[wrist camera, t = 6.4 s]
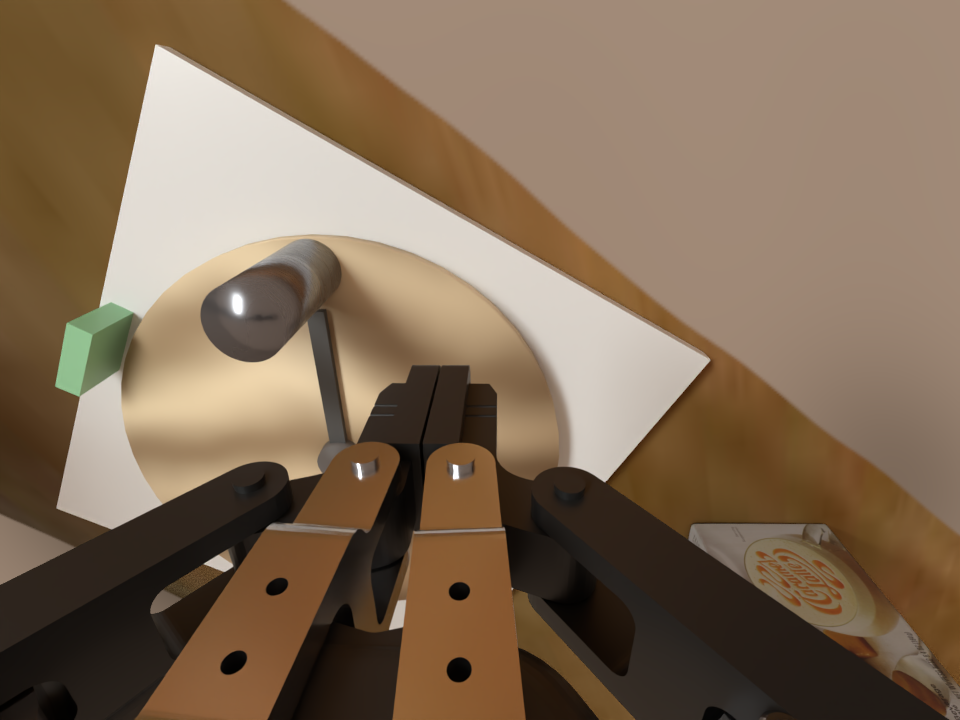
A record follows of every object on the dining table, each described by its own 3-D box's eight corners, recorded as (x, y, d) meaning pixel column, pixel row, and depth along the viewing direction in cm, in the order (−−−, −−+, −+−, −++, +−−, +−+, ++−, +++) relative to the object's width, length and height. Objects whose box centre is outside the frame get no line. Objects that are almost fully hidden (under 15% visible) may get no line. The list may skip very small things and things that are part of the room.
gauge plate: (68, 498, 34) (17, 543, 30) (169, 47, 22) (105, 33, 18) (454, 646, 40) (450, 698, 36) (703, 352, 28) (734, 387, 24)
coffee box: (676, 586, 36) (796, 903, 21) (690, 520, 33) (839, 832, 19) (806, 587, 35) (1018, 910, 21) (832, 520, 33) (1096, 839, 18)
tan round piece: (548, 592, 35) (561, 717, 27) (199, 587, 35) (123, 706, 28) (570, 231, 24) (602, 281, 16) (63, 237, 24) (-117, 286, 17)
